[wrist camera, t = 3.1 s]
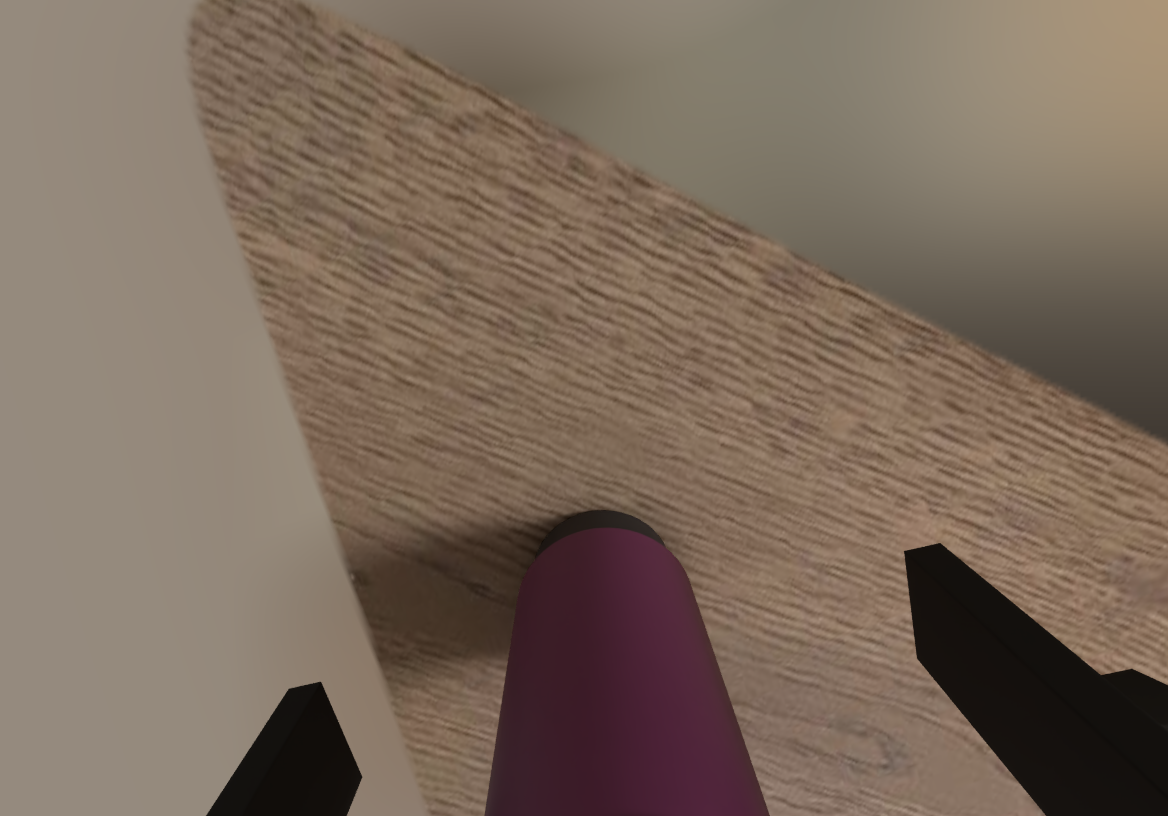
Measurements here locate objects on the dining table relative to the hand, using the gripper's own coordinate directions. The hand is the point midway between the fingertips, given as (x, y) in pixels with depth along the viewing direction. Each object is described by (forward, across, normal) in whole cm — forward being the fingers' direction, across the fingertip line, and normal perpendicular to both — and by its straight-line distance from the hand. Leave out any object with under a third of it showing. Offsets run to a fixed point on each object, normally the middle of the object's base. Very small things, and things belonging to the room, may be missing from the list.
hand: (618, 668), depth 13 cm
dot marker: (+4, 0, 0) cm, 4 cm away
